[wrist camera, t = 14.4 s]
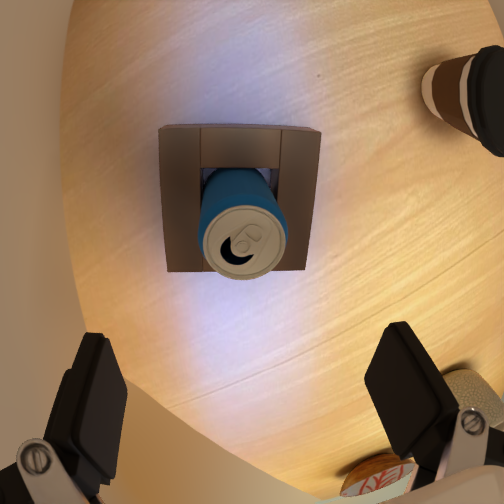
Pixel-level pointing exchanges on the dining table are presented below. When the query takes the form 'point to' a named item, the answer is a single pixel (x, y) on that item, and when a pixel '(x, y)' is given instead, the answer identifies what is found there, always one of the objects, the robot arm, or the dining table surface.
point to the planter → (476, 395)
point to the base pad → (235, 156)
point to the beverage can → (241, 224)
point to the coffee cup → (470, 95)
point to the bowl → (375, 474)
